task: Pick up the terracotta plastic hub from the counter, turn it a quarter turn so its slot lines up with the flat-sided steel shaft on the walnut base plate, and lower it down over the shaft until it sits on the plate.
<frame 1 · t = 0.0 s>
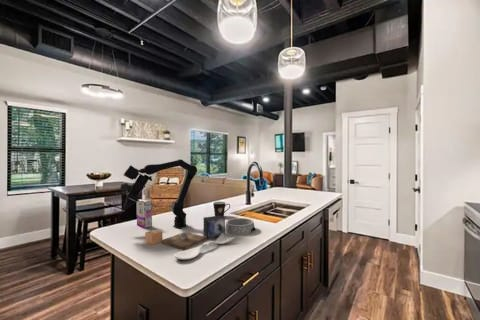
hand: (124, 208, 133), 15 cm above the worktop, tool tilted 35°, fingers open, 9 cm apart
spoon: (205, 250, 110), on the worktop
candy bar box: (144, 226, 149), on the worktop
dog bowl: (240, 230, 139), on the worktop
small box: (214, 237, 128), on the worktop
hub: (154, 241, 122), on the worktop
coffee mug: (221, 216, 169), on the worktop
base plate: (184, 241, 121), on the worktop
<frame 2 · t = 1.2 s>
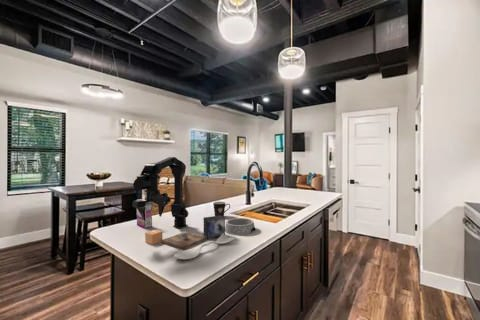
hand: (152, 218, 121), 12 cm above the worktop, tool pointing down, fingers open, 9 cm apart
nothing on the worktop moved.
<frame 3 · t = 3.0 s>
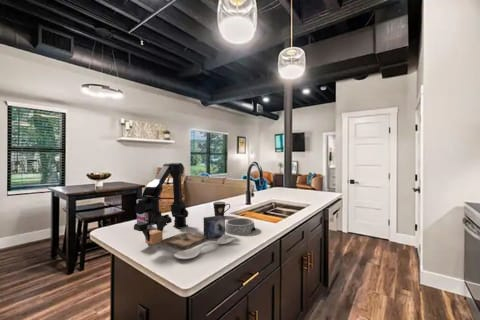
hand: (153, 239, 122), 1 cm above the worktop, tool pointing down, fingers closed on hub, 6 cm apart
hub: (154, 241, 122), on the worktop, touching gripper
everything else where it was.
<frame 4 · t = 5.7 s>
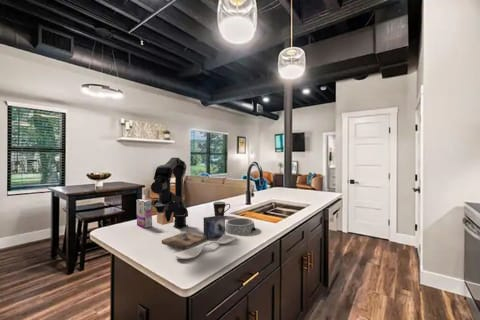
hand: (165, 220, 121), 11 cm above the worktop, tool pointing down, fingers closed on hub, 6 cm apart
hub: (165, 222, 121), point 10 cm above the worktop, touching gripper
everything else where it was.
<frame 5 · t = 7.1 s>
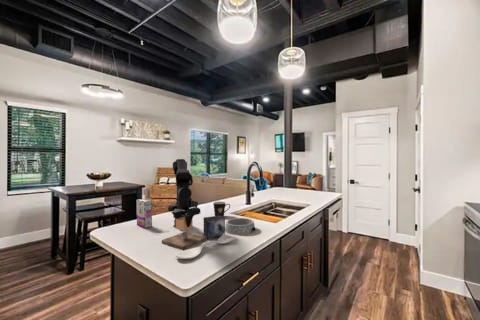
hand: (184, 226, 121), 8 cm above the worktop, tool pointing down, fingers closed on hub, 6 cm apart
hub: (184, 228, 121), point 7 cm above the worktop, touching gripper
everything else where it was.
when the fingers open (3 cm above the worktop, at t = 8.5 s): hub stays where it is, resting on base plate.
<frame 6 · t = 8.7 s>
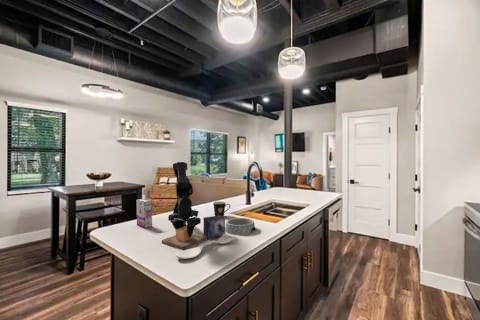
hand: (184, 235, 121), 3 cm above the worktop, tool pointing down, fingers open, 8 cm apart
hub: (184, 238, 121), point 1 cm above the worktop, touching base plate
everything else where it was.
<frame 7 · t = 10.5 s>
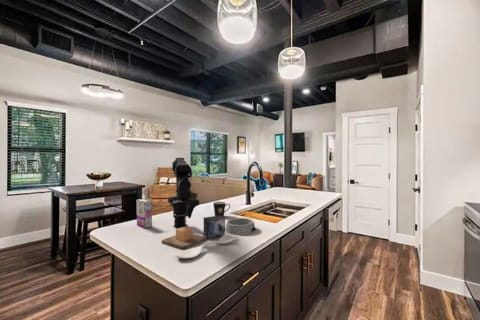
hand: (183, 216, 126), 11 cm above the worktop, tool pointing down, fingers open, 9 cm apart
nothing on the worktop moved.
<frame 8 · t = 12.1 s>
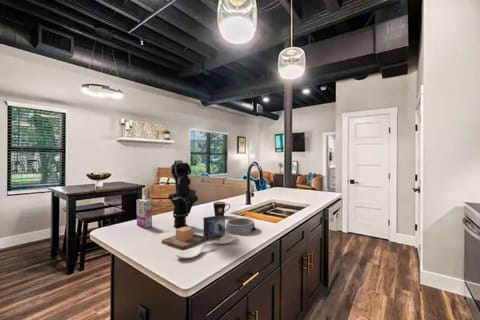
hand: (183, 212, 133), 12 cm above the worktop, tool pointing down, fingers open, 9 cm apart
at the end: hub 0.0 cm off-centre on the base plate, point 1.5 cm above the base plate's base; hub tilted 0°; the gripper is holding nothing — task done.
